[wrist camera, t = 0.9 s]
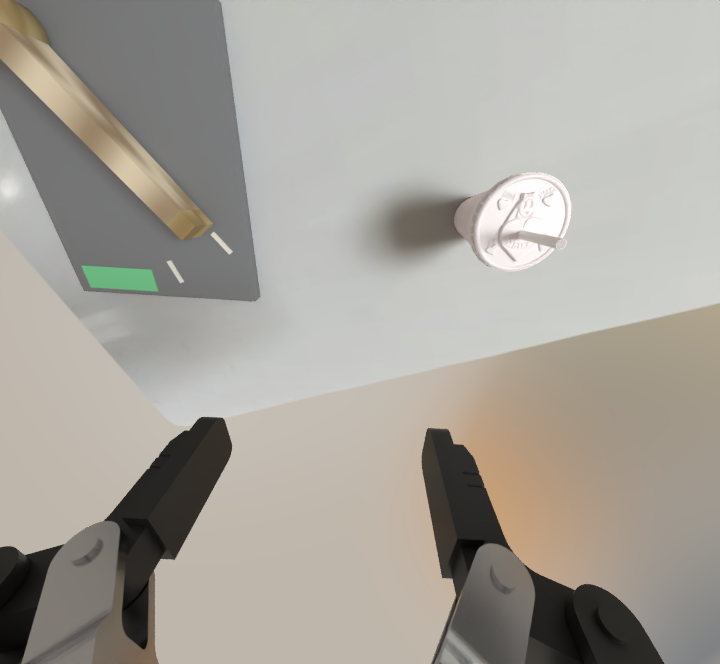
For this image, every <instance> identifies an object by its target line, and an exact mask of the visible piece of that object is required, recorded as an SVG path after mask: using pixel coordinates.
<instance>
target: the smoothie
mask: <svg viewBox="0 0 720 664" xmlns="http://www.w3.org/2000/svg"><path fill="white" fill-rule="evenodd" d="M570 216H571V201H570V197H569V194H568V192H567V190H566V188H565V186H564V185H563V184H562V183H561V182H560V181H559V180H558V179H556V178H555V177H553V176H551V175H548V174H545V173H537V172H536V173H527V172H524V173H520V174H516V175H512V176H509V177H508V178H506V179H504V180H502V181H500V182H498V183H497V184H496V185H495V186H493V187H492V188H491V189H490V190H488V191H486V192H483V193H481V194H478V195H476V196H474V197H471V198H469V199H467V200H465V201H464V202H462V203H461V204H460V206H459V207H458V208H457V210H456V212H455V216H454V225H455V228H456V230H457V231H458V232H459V233H460V234H461V235H462V236H463V237H464V238H465V239H466V240H467V241H468V242H469V244H470V245H471V246H472V250H473V252H474V253H475V255H476V256H477V258H478V259H479V260H480V261H482V262H483V263H484V264H486V265H487V266H490V267H493V268H495V269H497V270H501V271H519V270H523V269H526V268H529V267H531V266H533V265H535V264H537V263H539V262H540V261H542V260H543V259H544V258H546V257H547V256H548V255H549V254H550V253H551V252H552V251H553V250H554V249H563V248H564V247H565V246H566V244H567V241H566V240H565V239H562V238H563V236H564V234H565V232H566V230H567V228H568V225H569V221H570Z"/></svg>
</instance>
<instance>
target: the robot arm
mask: <svg viewBox="0 0 720 664" xmlns="http://www.w3.org/2000/svg"><path fill="white" fill-rule="evenodd" d="M231 451H232V443H231V440H230V436H229V433H228V430H227V427H226V424H225V421H224V419H223V418H217V417H201V418H199V419H198V420H197V421H196V423H195V424H194V425H193V427H192V428H191V429H190V430H189V431H184V432H182V433H181V434H179V435H178V436H177V437H176V438H174V439H173V440H172V441H170V442H169V444H168V445H167V446H166V447H165V448H164V450H163V451H162V452H161V453H160V455H159V457H158V458H156V459H155V461H154V462H153V463H152V464H151V466H150V468H149V469H147V470H146V472H145V473H144V474H143V475H142V476H141V478H140V479H139V480H138V481H137V482H136V484H135V485H134V486H133V487H132V489H131V490H130V491H129V492H128V493H127V495H126V496H125V497H124V498H123V500H122V501H121V502H120V503H119V504H118V506H117V507H116V508H115V509H114V511H113V512H112V513H111V514H110V515H109V516H108V517H107V519H105V520H104V521H103V522H99V523H96V524H94V525H92V526H89V527H87V528H85V529H84V530H82V531H81V532H79V533H78V534H76V535H75V536H74V537H72V538H71V539H70V540H69V541H68V542H67V543H66V544H64V545H60V546H56V547H53V548H50V549H46V550H42V551H38V552H35V553H32V554H27V555H24V554H22V553H21V552H20V551H19V550H17V549H16V548H14V547H10V546H7V547H1V548H0V664H159V663H158V660H157V658H156V652H155V574H154V569H155V567H156V565H157V564H158V562H159V561H160V559H173V560H174V559H175V558H176V556H177V554H178V552H179V551H180V549H181V547H182V545H183V543H184V541H185V540H186V538H187V536H188V534H189V532H190V530H191V528H192V527H193V525H194V523H195V521H196V519H197V517H198V515H199V513H200V512H201V510H202V508H203V506H204V505H205V503H206V501H207V499H208V497H209V495H210V493H211V491H212V490H213V488H214V486H215V484H216V482H217V480H218V479H219V477H220V475H221V473H222V471H223V470H224V468H225V466H226V464H227V462H228V460H229V458H230V455H231ZM422 469H423V476H424V481H425V487H426V492H427V498H428V503H429V508H430V514H431V519H432V525H433V530H434V536H435V541H436V547H437V552H438V557H439V562H440V568H441V574H442V578H452V579H453V583H454V587H455V592H456V597H455V599H454V602H453V605H452V608H451V610H450V613H449V616H448V619H447V622H446V624H445V627H444V630H443V632H442V635H441V638H440V641H439V643H438V646H437V649H436V652H435V654H434V657H433V660H432V663H431V664H664V662H663V661H662V659H661V657H660V655H659V654H658V652H657V650H656V649H655V647H654V645H653V644H652V642H651V640H650V638H649V637H648V635H647V633H646V632H645V630H644V628H643V627H642V625H641V624H640V622H639V621H638V620H637V618H636V617H635V616H634V614H633V613H632V612H631V611H630V610H629V609H628V608H627V607H626V606H625V605H624V604H623V603H622V602H621V601H620V600H618V598H616V597H615V596H614V595H612V594H611V593H609V592H608V591H606V590H604V589H602V588H600V587H598V586H595V585H591V584H584V585H581V586H579V587H578V588H577V589H576V590H573V589H571V588H569V587H566V586H564V585H562V584H559V583H557V582H555V581H553V580H550V579H548V578H546V577H544V576H541V575H539V574H537V573H535V572H534V571H532V570H531V569H529V568H528V567H527V566H526V565H524V564H523V563H522V562H521V560H520V559H519V558H518V557H517V556H516V555H515V554H514V553H513V551H512V550H511V549H510V547H509V545H508V544H507V542H506V539H505V537H504V535H503V532H502V530H501V527H500V524H499V522H498V519H497V517H496V514H495V512H494V509H493V506H492V504H491V501H490V499H489V496H488V494H487V491H486V488H484V483H483V481H482V478H481V476H480V475H479V471H478V468H477V465H476V463H475V460H474V458H473V456H472V455H471V454H470V453H469V452H468V450H467V449H466V448H465V447H464V445H456V444H453V441H452V438H451V435H450V432H449V430H448V429H434V428H428V429H427V432H426V437H425V442H424V447H423V452H422Z"/></svg>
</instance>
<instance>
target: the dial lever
mask: <svg viewBox="0 0 720 664" xmlns="http://www.w3.org/2000/svg"><path fill="white" fill-rule="evenodd" d="M0 59H1V60H2V61H3V62H4V63H5V64H6V65H7V66H8V67H9V68H10V69H11V70H12V71H13V72H14V73H15V74H16V75H17V76H18V77H19V78H20V79H21V80H22V81H23V82H24V83H25V84H26V85H27V86H28V87H29V88H30V89H31V90H32V91H33V92H34V93H35V94H36V95H37V96H38V97H39V98H40V99H41V100H42V101H43V102H44V103H45V104H46V105H47V106H48V107H49V108H50V109H51V110H52V111H53V112H54V113H55V114H56V115H57V116H58V117H59V118H60V119H61V120H62V121H63V122H64V123H65V124H66V125H67V126H68V127H69V128H70V129H71V130H72V131H73V132H74V133H75V134H76V135H77V136H78V137H79V138H80V139H81V140H82V141H83V142H84V143H85V144H86V145H87V146H88V147H89V148H90V149H91V150H92V151H93V152H94V153H95V154H96V155H97V156H98V157H99V158H100V159H101V160H102V161H103V162H104V163H105V164H106V165H107V166H108V167H109V168H110V169H111V170H112V171H113V172H114V173H115V174H116V175H117V176H118V177H119V178H120V179H121V180H122V181H123V182H124V183H125V184H126V185H127V186H128V187H129V188H130V189H131V190H132V191H133V192H134V193H135V194H136V195H137V196H138V197H139V198H140V199H141V200H142V201H143V202H144V203H145V204H146V205H147V206H148V207H149V208H150V209H151V210H152V211H153V212H154V213H155V214H156V215H157V216H158V217H159V218H160V219H161V220H162V221H163V222H164V223H165V224H166V225H167V226H168V227H169V228H170V229H171V230H172V231H173V232H174V233H175V234H176V235H177V236H178V237H179V238H180V239H181V240H187V239H191V238H196V237H201V236H202V235H203V234H204V233H205V232H206V231H207V230H208V229H209V228H210V227H211V226H212V224H213V223H212V222H211V221H210V220H209V218H208V217H207V216H206V215H205V214H204V213H203V212H202V211H201V210H200V209H199V208H198V207H197V205H196V204H195V203H194V202H193V201H192V200H191V199H190V198H189V197H188V196H187V195H186V194H185V192H184V191H183V190H182V189H181V188H180V187H179V186H178V185H177V184H176V183H175V182H174V181H173V179H172V178H171V177H170V176H169V175H168V174H167V173H166V172H165V171H164V170H163V169H162V168H161V166H160V165H159V164H158V163H157V162H156V161H155V160H154V159H153V158H152V157H151V156H150V155H149V153H148V152H147V151H146V150H145V149H144V148H143V147H142V146H141V145H140V144H139V143H138V142H137V140H136V139H135V138H134V137H133V136H132V135H131V134H130V133H129V132H128V131H127V130H126V129H125V127H124V126H123V125H122V124H121V123H120V122H119V121H118V120H117V119H116V118H115V117H114V116H113V115H112V113H111V112H110V111H109V110H108V109H107V108H106V107H105V106H104V105H103V104H102V103H101V102H100V100H99V99H98V98H97V97H96V96H95V95H94V94H93V93H92V92H91V91H90V90H89V89H88V87H87V86H86V85H85V84H84V83H83V82H82V81H81V80H80V79H79V78H78V77H77V76H76V74H75V73H74V72H73V71H72V70H71V69H70V68H69V67H68V66H67V65H66V64H65V63H64V61H63V60H62V59H61V58H60V57H59V56H58V55H57V54H56V53H55V52H54V51H53V50H52V48H51V47H50V44H49V40H48V37H47V34H46V32H45V30H44V28H43V26H42V25H41V23H40V22H39V20H38V19H37V18H36V16H35V15H34V14H33V13H32V12H31V11H30V10H29V9H28V8H26V7H25V6H23V5H21V4H20V3H18V2H16V1H14V0H0Z"/></svg>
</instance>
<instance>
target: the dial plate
mask: <svg viewBox="0 0 720 664" xmlns="http://www.w3.org/2000/svg"><path fill="white" fill-rule="evenodd" d="M14 1H16V2H18V3H20V4H21V5H23V6H25V7H26V8H28V9H29V10H30V11H31V12H32V13H33V14H34V15H35V16H36V18H37V19H38V20H39V22H40V23H41V25H42V26H43V28H44V30H45V32H46V34H47V37H48V40H49V44H50V47H51V48H52V50H53V51H54V52H55V53H56V54H57V55H58V56H59V57H60V58H61V59H62V60H63V61H64V63H65V64H66V65H67V66H68V67H69V68H70V69H71V70H72V71H73V72H74V73H75V74H76V76H77V77H78V78H79V79H80V80H81V81H82V82H83V83H84V84H85V85H86V86H87V87H88V89H89V90H90V91H91V92H92V93H93V94H94V95H95V96H96V97H97V98H98V99H99V100H100V102H101V103H102V104H103V105H104V106H105V107H106V108H107V109H108V110H109V111H110V112H111V113H112V115H113V116H114V117H115V118H116V119H117V120H118V121H119V122H120V123H121V124H122V125H123V126H124V127H125V129H126V130H127V131H128V132H129V133H130V134H131V135H132V136H133V137H134V138H135V139H136V140H137V142H138V143H139V144H140V145H141V146H142V147H143V148H144V149H145V150H146V151H147V152H148V153H149V155H150V156H151V157H152V158H153V159H154V160H155V161H156V162H157V163H158V164H159V165H160V166H161V168H162V169H163V170H164V171H165V172H166V173H167V174H168V175H169V176H170V177H171V178H172V179H173V181H174V182H175V183H176V184H177V185H178V186H179V187H180V188H181V189H182V190H183V191H184V192H185V194H186V195H187V196H188V197H189V198H190V199H191V200H192V201H193V202H194V203H195V204H196V205H197V207H198V208H199V209H200V210H201V211H202V212H203V213H204V214H205V215H206V216H207V217H208V218H209V220H210V221H211V222H212V223H213V224H212V226H211V227H210V228H209V229H208V230H207V231H206V232H205V233H204V234H203V235H202V236H201V237H196V238H191V239H187V240H181V239H180V238H179V237H178V236H177V235H176V234H175V233H174V232H173V231H172V230H171V229H170V228H169V227H168V226H167V225H166V224H165V223H164V222H163V221H162V220H161V219H160V218H159V217H158V216H157V215H156V214H155V213H154V212H153V211H152V210H151V209H150V208H149V207H148V206H147V205H146V204H145V203H144V202H143V201H142V200H141V199H140V198H139V197H138V196H137V195H136V194H135V193H134V192H133V191H132V190H131V189H130V188H129V187H128V186H127V185H126V184H125V183H124V182H123V181H122V180H121V179H120V178H119V177H118V176H117V175H116V174H115V173H114V172H113V171H112V170H111V169H110V168H109V167H108V166H107V165H106V164H105V163H104V162H103V161H102V160H101V159H100V158H99V157H98V156H97V155H96V154H95V153H94V152H93V151H92V150H91V149H90V148H89V147H88V146H87V145H86V144H85V143H84V142H83V141H82V140H81V139H80V138H79V137H78V136H77V135H76V134H75V133H74V132H73V131H72V130H71V129H70V128H69V127H68V126H67V125H66V124H65V123H64V122H63V121H62V120H61V119H60V118H59V117H58V116H57V115H56V114H55V113H54V112H53V111H52V110H51V109H50V108H49V107H48V106H47V105H46V104H45V103H44V102H43V101H42V100H41V99H40V98H39V97H38V96H37V95H36V94H35V93H34V92H33V91H32V90H31V89H30V88H29V87H28V86H27V85H26V84H25V83H24V82H23V81H22V80H21V79H20V78H19V77H18V76H17V75H16V74H15V73H14V72H13V71H12V70H11V69H10V68H9V67H8V66H7V65H6V64H5V63H4V62H3V61H2V60H1V59H0V108H1V111H2V113H3V115H4V117H5V119H6V122H7V124H8V126H9V128H10V130H11V132H12V135H13V137H14V139H15V141H16V143H17V146H18V148H19V150H20V152H21V154H22V156H23V159H24V161H25V163H26V165H27V167H28V170H29V172H30V174H31V176H32V178H33V180H34V183H35V185H36V187H37V189H38V191H39V194H40V196H41V198H42V200H43V202H44V204H45V207H46V209H47V211H48V213H49V215H50V218H51V220H52V222H53V224H54V226H55V228H56V231H57V233H58V235H59V237H60V239H61V242H62V244H63V246H64V248H65V250H66V252H67V255H68V257H69V259H70V261H71V263H72V266H73V268H74V270H75V272H76V274H77V276H78V279H79V281H80V283H81V285H82V287H83V290H84V291H96V292H112V293H128V294H145V295H161V296H177V297H193V298H210V299H226V300H242V301H256V300H257V299H258V298H260V292H259V284H258V277H257V269H256V262H255V254H254V247H253V239H252V232H251V224H250V217H249V209H248V202H247V194H246V187H245V179H244V172H243V164H242V157H241V149H240V142H239V134H238V127H237V119H236V112H235V105H234V97H233V90H232V82H231V75H230V67H229V60H228V52H227V45H226V37H225V30H224V22H223V15H222V7H221V3H220V2H219V0H14Z"/></svg>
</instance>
